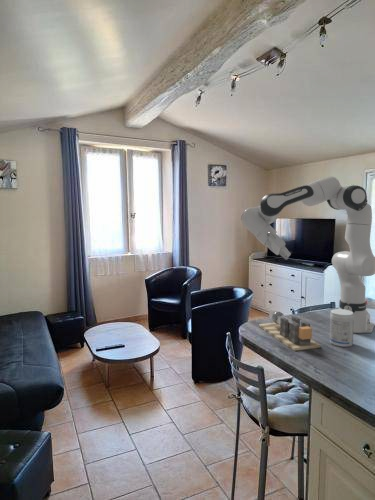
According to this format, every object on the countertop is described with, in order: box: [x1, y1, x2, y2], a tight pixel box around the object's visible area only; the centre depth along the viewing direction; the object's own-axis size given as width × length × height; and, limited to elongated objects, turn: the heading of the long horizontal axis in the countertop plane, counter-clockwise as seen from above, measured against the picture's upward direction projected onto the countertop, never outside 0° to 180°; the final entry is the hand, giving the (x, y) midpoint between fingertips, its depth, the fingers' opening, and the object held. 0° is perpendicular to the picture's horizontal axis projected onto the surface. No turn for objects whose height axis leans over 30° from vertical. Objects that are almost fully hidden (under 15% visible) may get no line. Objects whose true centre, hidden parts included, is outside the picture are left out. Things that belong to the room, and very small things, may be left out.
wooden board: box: [258, 315, 321, 351], centre depth 157 cm, size 33×13×10 cm, turn 14°
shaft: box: [268, 310, 299, 331], centre depth 160 cm, size 22×6×6 cm, turn 14°
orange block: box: [299, 326, 313, 340], centre depth 142 cm, size 3×5×5 cm, turn 104°
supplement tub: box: [329, 308, 354, 348], centre depth 146 cm, size 10×10×15 cm
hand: (288, 257), depth 151 cm, fingers open, 8 cm apart
